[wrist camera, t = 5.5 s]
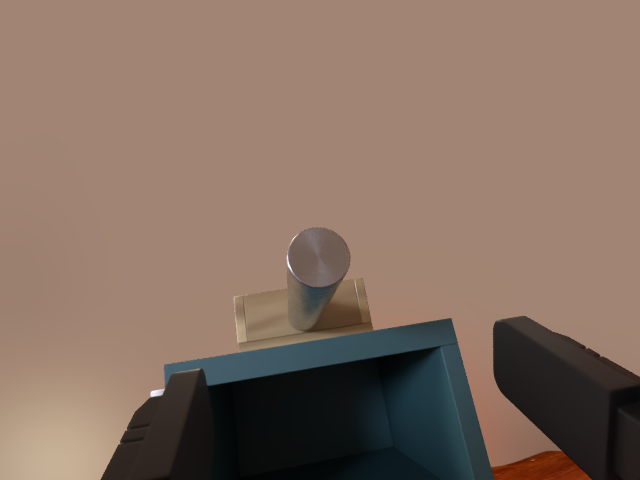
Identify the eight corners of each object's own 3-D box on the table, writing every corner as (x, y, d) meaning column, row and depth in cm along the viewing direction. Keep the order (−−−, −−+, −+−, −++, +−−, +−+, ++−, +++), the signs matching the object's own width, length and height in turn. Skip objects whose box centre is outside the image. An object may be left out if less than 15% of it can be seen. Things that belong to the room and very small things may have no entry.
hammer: (463, 299, 16) (432, 188, 17) (183, 343, 14) (177, 218, 16) (352, 346, 43) (344, 302, 45) (252, 363, 42) (247, 316, 43)
